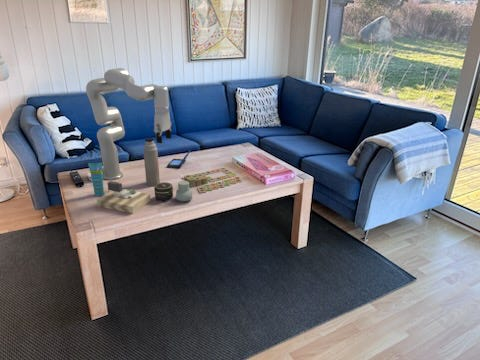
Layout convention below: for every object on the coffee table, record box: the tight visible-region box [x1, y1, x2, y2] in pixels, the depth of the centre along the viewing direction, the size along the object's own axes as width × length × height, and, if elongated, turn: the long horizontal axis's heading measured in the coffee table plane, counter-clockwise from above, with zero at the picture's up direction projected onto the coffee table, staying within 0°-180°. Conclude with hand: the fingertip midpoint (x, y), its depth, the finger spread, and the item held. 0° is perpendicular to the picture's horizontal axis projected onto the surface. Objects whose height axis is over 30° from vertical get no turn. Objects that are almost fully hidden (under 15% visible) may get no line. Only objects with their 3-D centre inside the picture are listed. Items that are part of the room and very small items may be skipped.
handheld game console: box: [166, 149, 191, 169], centre depth 254 cm, size 16×13×9 cm
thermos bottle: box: [143, 137, 161, 187], centre depth 219 cm, size 8×8×28 cm
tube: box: [87, 162, 105, 197], centre depth 205 cm, size 7×5×19 cm, turn 103°
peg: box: [107, 180, 132, 197], centre depth 197 cm, size 13×2×7 cm, turn 69°
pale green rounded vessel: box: [175, 180, 193, 202], centre depth 203 cm, size 11×8×10 cm
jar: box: [153, 182, 174, 202], centre depth 205 cm, size 10×10×8 cm
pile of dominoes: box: [181, 167, 243, 194], centre depth 230 cm, size 35×27×6 cm
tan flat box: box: [96, 188, 151, 214], centre depth 199 cm, size 22×17×4 cm
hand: (164, 140), depth 205 cm, fingers open, 9 cm apart
